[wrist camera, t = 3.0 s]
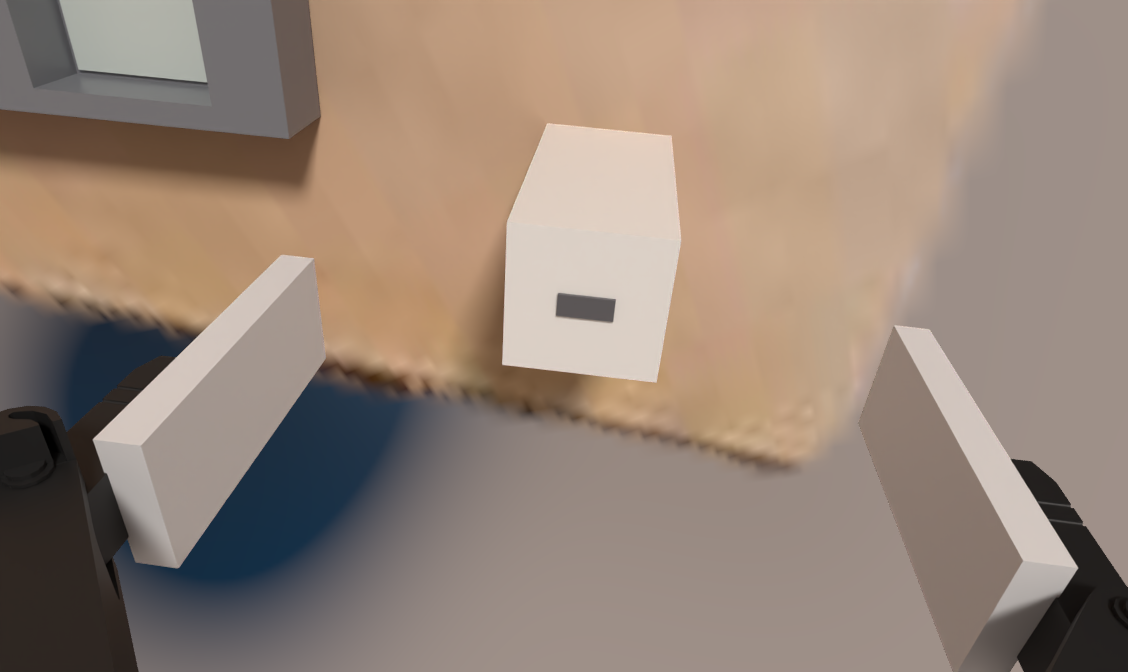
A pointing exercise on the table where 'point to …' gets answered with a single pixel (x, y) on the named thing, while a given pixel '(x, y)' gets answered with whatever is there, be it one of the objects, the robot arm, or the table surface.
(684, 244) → the table surface
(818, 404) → the table surface
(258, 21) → the power strip
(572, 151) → the block
